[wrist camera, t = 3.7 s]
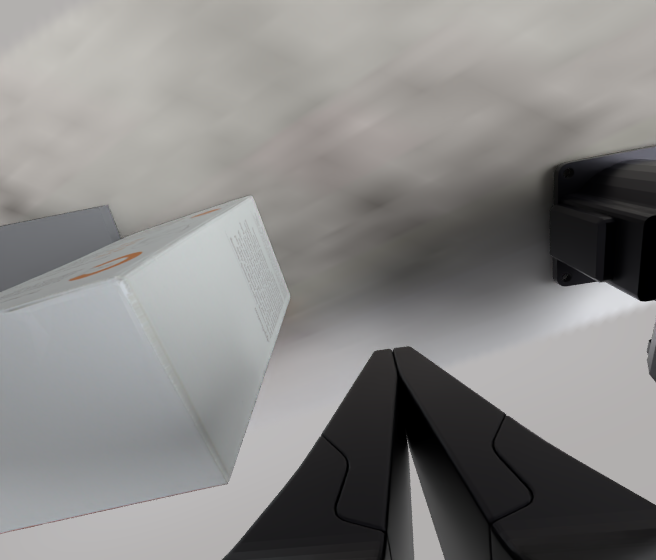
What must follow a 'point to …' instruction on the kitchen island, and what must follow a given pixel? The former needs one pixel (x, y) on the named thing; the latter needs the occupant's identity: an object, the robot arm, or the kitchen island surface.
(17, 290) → the small box
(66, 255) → the mat
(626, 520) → the robot arm
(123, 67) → the kitchen island surface
